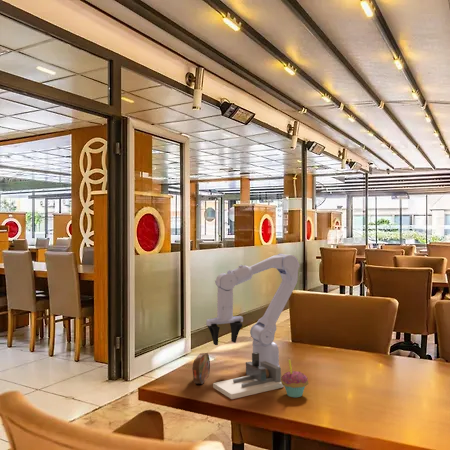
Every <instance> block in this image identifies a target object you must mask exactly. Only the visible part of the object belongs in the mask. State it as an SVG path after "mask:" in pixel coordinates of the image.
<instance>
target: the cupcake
mask: <svg viewBox="0 0 450 450" xmlns="http://www.w3.org/2000/svg"><path fill="white" fill-rule="evenodd" d="M287 361H288V366H289V371H288V372H285V373H284V374H282V375H281V383H282V385H284V389H285V392H286V395H287V396H288V397H289V398H290V397H291V398H300V397H302V396H303V393H304V390H305V388H306V387H307V386H309V379H308V377H307V376H306V375H305V374H304V373H303V372H301V371H297V370H295V371H294V370H293V368H292V361H291V359H290V358H288V360H287Z"/></svg>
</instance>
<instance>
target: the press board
mask: <svg viewBox="0 0 450 450" xmlns="http://www.w3.org/2000/svg"><path fill="white" fill-rule="evenodd" d="M260 363H261V366H262V367H264V368H266V369H267V370H268V371H269V377H268V378H267V379H266V381H262V382H260V381H258V380H257V379H255V378H253V377H251V376H249V375H245V376H241V377H236V378H235V377H234V378H231V379H226V380H220V381H217V382H213V383H212V387H213V389H214V390H216V391H218V392H220V393H221V394H223V395H224V396H225V397H227V398H229V399H231V400H234V399H235V400H236V399H239V398H243V397H248V396H251V395H257V394H260V393H264V392H268V391H273V390H277V389H281V388H285V386H284V385H282V383H281V378H282V369H281V366H280V367H278V366H275V365H273V364H271V363H269V362H266V361H263V362H260Z"/></svg>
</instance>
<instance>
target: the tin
mask: <svg viewBox="0 0 450 450" xmlns="http://www.w3.org/2000/svg"><path fill="white" fill-rule="evenodd" d="M210 371H211V359H210V355H209V353H208V352H204V353H203V352H201V353H199V354H198V355H197V356H196V357H195V359H194V360H193V363H192V379H193V380H192V381H193V383H194V384H196V385H197V384H198V385H203V384H204V383H205V382H206V380H207V379H208V378H209V376H210Z"/></svg>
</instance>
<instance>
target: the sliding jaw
mask: <svg viewBox="0 0 450 450" xmlns="http://www.w3.org/2000/svg"><path fill="white" fill-rule="evenodd" d="M245 374H246V376H251V377H253V378H255V379H257V380H258V381H260V382H262V381H266V368H264V367H262V366H260V365H259V353H257V352H254V353H253V352H252V353H251V361H246V362H245Z"/></svg>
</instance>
